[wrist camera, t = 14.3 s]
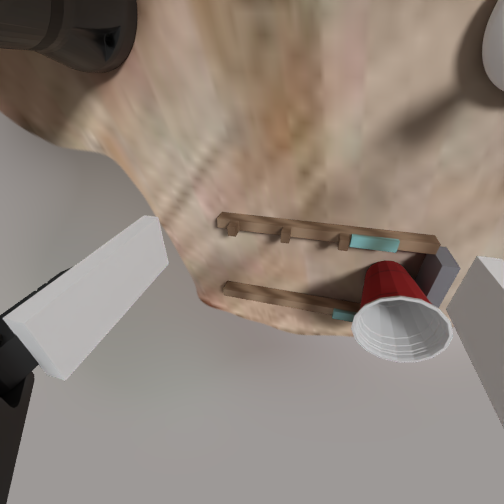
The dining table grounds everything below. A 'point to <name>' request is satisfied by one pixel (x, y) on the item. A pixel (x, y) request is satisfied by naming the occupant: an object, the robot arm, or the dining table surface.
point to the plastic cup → (398, 317)
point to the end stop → (437, 275)
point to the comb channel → (324, 232)
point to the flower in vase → (495, 46)
